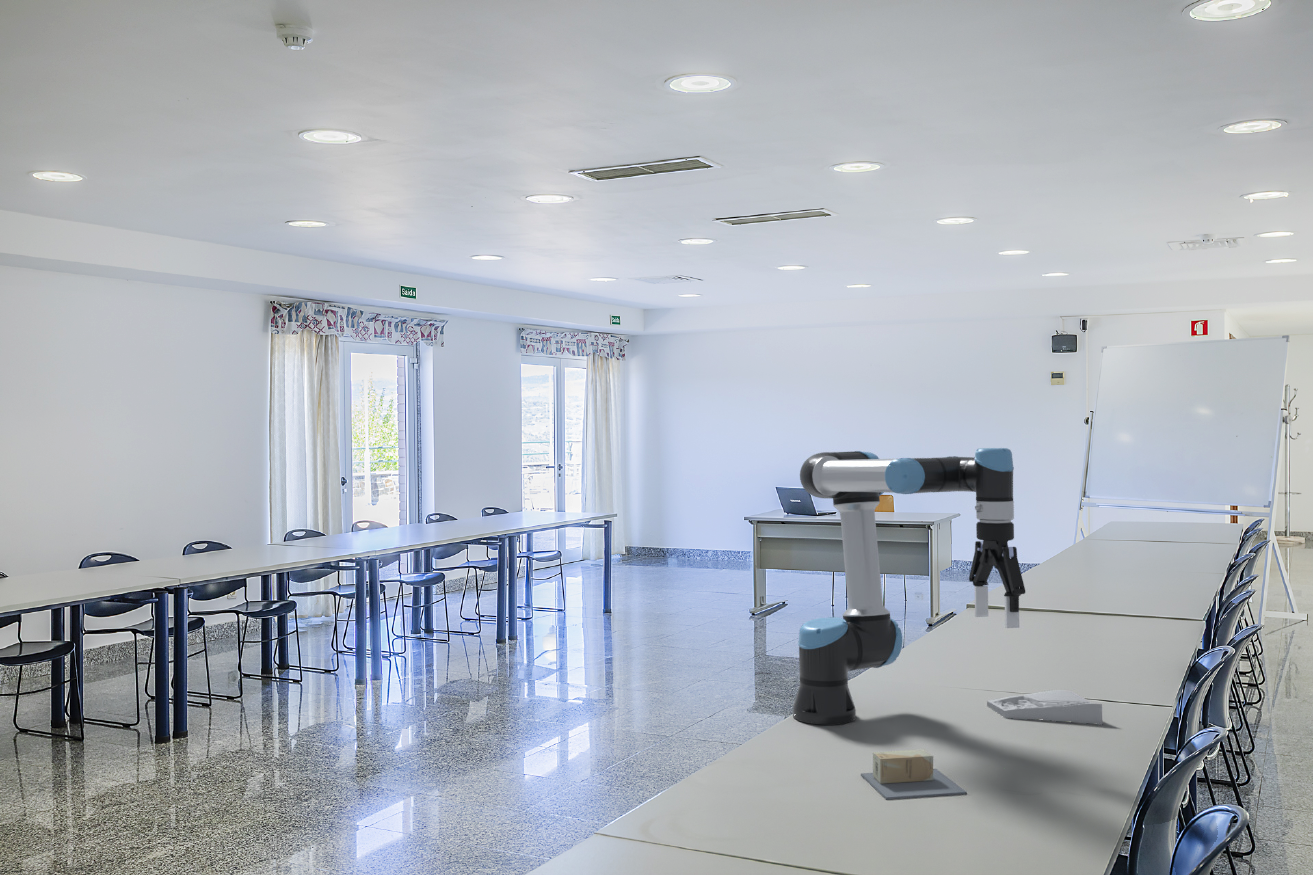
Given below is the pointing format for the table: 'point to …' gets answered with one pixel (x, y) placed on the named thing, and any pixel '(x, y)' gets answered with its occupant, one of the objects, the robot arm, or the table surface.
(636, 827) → the table surface
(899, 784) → the mat
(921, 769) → the box
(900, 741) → the table surface
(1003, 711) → the ramp
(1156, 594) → the table surface
